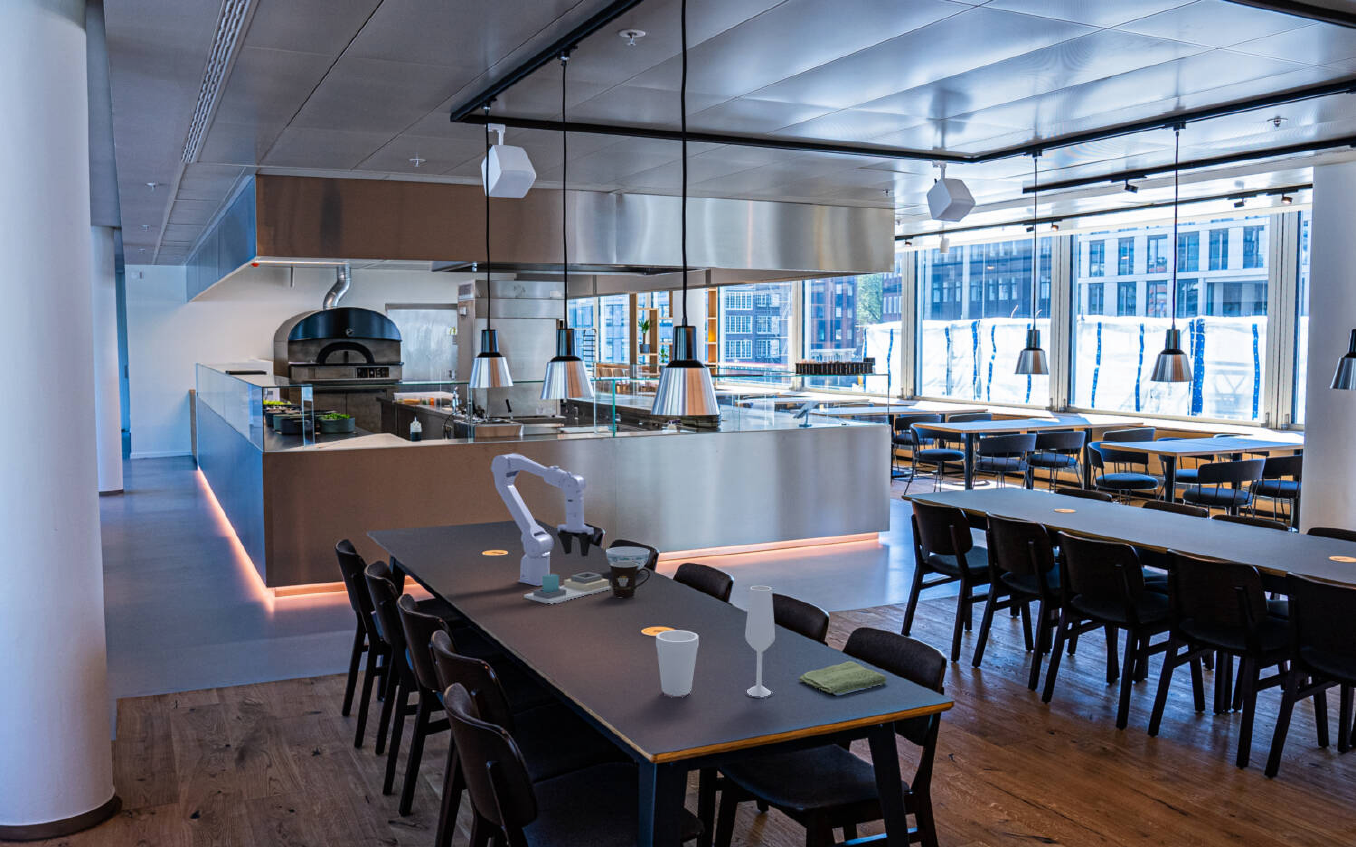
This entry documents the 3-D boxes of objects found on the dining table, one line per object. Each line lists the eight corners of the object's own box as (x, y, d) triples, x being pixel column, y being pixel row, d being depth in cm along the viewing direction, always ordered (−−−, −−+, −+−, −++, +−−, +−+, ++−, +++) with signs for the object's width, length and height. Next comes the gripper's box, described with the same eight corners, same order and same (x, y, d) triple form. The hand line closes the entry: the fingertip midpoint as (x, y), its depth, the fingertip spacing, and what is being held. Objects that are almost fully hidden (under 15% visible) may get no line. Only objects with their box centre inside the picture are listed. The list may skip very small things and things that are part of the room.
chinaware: (652, 569, 357) (652, 547, 357) (646, 578, 342) (646, 556, 342) (609, 567, 359) (609, 545, 358) (602, 577, 344) (602, 554, 343)
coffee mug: (604, 597, 316) (605, 565, 315) (619, 591, 324) (619, 560, 323) (637, 601, 311) (637, 569, 310) (651, 596, 318) (651, 564, 318)
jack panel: (524, 597, 313) (524, 583, 313) (584, 583, 333) (584, 570, 333) (551, 604, 306) (551, 589, 305) (611, 589, 326) (611, 575, 326)
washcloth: (795, 683, 238) (795, 670, 238) (852, 671, 248) (852, 658, 247) (833, 700, 227) (833, 686, 227) (890, 687, 237) (891, 673, 236)
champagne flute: (771, 688, 233) (774, 584, 231) (775, 698, 226) (778, 591, 224) (742, 688, 232) (744, 584, 231) (745, 698, 226) (747, 591, 224)
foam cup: (696, 686, 233) (697, 630, 233) (698, 700, 224) (699, 642, 223) (655, 686, 233) (655, 630, 232) (655, 700, 224) (656, 641, 223)
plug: (542, 595, 313) (542, 575, 313) (552, 592, 316) (552, 573, 316) (548, 596, 311) (548, 577, 311) (558, 594, 314) (559, 575, 314)
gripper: (599, 512, 326) (601, 554, 326) (568, 509, 335) (569, 550, 336) (584, 515, 320) (585, 558, 321) (552, 512, 330) (553, 554, 330)
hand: (576, 554), depth 328 cm, fingers open, 7 cm apart
